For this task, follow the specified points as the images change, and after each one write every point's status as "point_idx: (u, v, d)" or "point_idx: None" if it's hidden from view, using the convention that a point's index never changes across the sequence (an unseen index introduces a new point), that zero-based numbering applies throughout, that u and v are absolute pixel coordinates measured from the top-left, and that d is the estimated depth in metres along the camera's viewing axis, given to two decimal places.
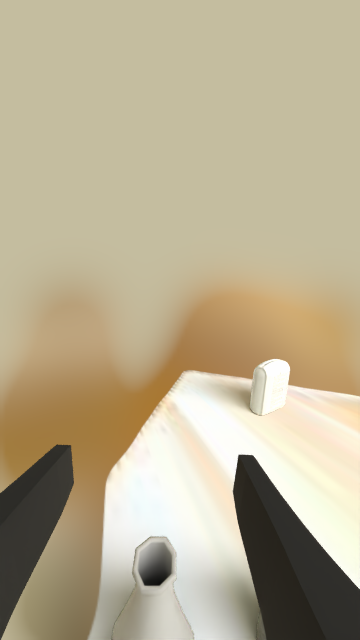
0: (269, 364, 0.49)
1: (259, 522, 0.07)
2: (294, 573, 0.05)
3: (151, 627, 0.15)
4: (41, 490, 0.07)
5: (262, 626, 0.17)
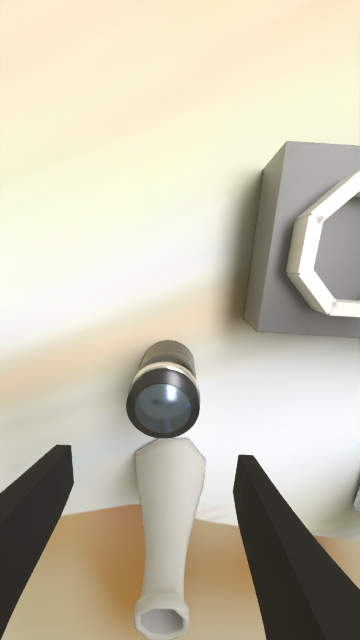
0: None
1: (259, 522, 0.07)
2: (294, 573, 0.05)
3: (185, 548, 0.15)
4: (41, 490, 0.07)
5: None
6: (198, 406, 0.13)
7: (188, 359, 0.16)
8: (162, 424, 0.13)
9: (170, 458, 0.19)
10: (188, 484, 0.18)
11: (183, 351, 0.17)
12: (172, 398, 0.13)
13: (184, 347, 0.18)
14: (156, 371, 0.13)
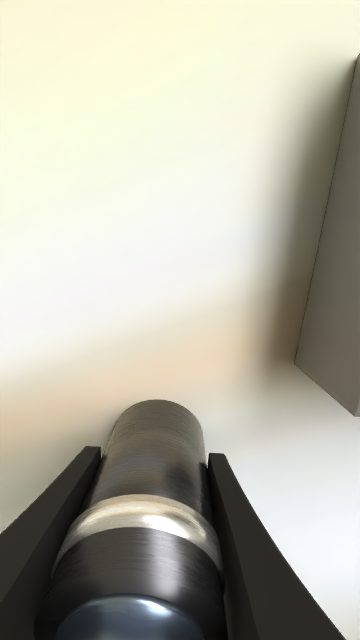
0: None
1: (220, 520, 0.07)
2: (241, 570, 0.05)
3: None
4: (78, 492, 0.07)
5: None
6: (225, 638, 0.05)
7: (193, 455, 0.08)
8: None
9: None
10: None
11: (184, 430, 0.09)
12: (155, 630, 0.05)
13: (186, 414, 0.10)
14: (113, 548, 0.05)
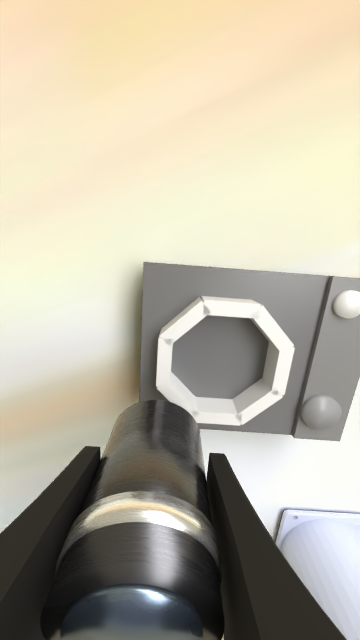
0: None
1: (221, 520, 0.07)
2: (242, 570, 0.05)
3: None
4: (77, 492, 0.07)
5: None
6: (221, 629, 0.05)
7: (195, 457, 0.08)
8: None
9: None
10: None
11: (186, 432, 0.09)
12: (159, 620, 0.05)
13: (187, 416, 0.10)
14: (125, 541, 0.05)
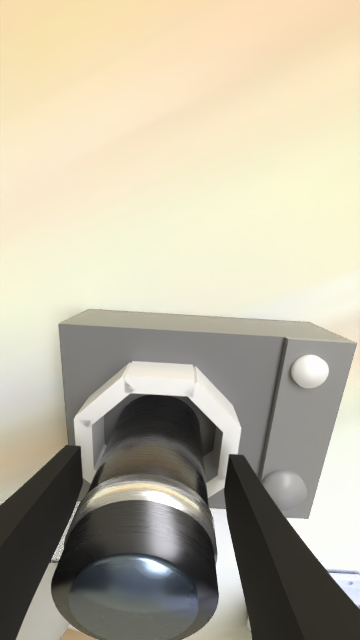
0: None
1: (246, 521, 0.07)
2: (277, 572, 0.05)
3: None
4: (54, 491, 0.07)
5: None
6: (215, 602, 0.06)
7: (195, 448, 0.09)
8: (129, 630, 0.06)
9: None
10: (36, 632, 0.16)
11: (187, 425, 0.10)
12: (159, 588, 0.05)
13: (188, 410, 0.11)
14: (130, 516, 0.06)
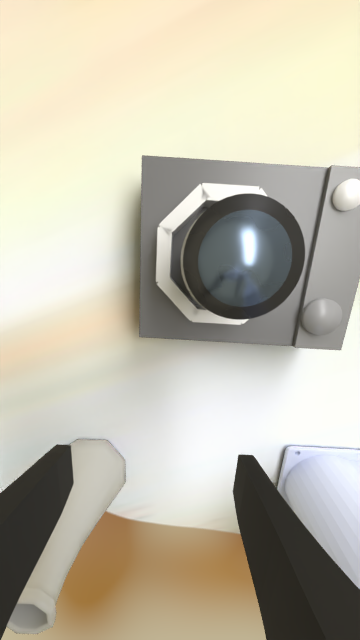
0: None
1: (259, 522, 0.07)
2: (294, 573, 0.05)
3: (76, 546, 0.16)
4: (41, 490, 0.07)
5: None
6: (301, 265, 0.08)
7: None
8: (238, 289, 0.08)
9: (82, 458, 0.20)
10: (94, 484, 0.19)
11: None
12: (265, 241, 0.08)
13: None
14: None
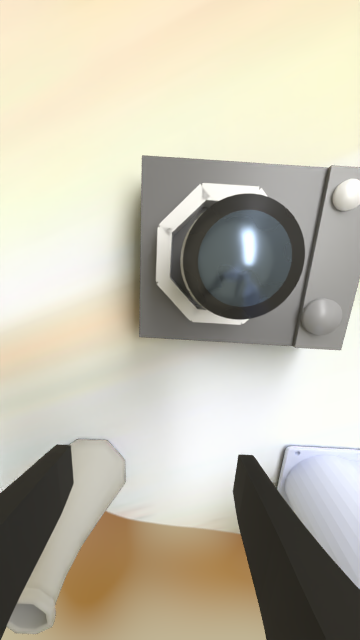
0: None
1: (259, 522, 0.07)
2: (294, 573, 0.05)
3: (76, 546, 0.16)
4: (41, 490, 0.07)
5: None
6: (301, 265, 0.08)
7: None
8: (237, 289, 0.08)
9: (82, 458, 0.20)
10: (94, 484, 0.19)
11: None
12: (265, 241, 0.08)
13: None
14: None
